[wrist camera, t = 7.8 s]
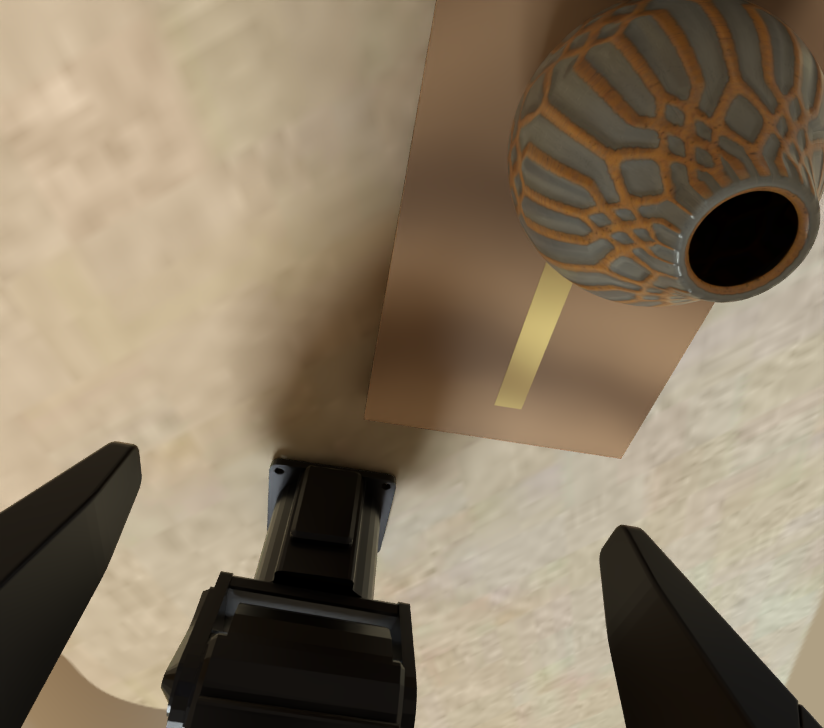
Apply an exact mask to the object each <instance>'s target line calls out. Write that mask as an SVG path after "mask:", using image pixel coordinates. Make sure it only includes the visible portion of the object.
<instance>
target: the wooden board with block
mask: <svg viewBox="0 0 824 728" xmlns="http://www.w3.org/2000/svg"><path fill="white" fill-rule="evenodd" d="M622 1H624V0H436V5H435V11H434V17H433V22H432V28H431V34H430V40H429V45H428V51H427V57H426V63H425V68H424V74H423V80H422V85H421V91H420V97H419V103H418V108H417V114H416V120H415V126H414V131H413V137H412V143H411V148H410V154H409V160H408V166H407V171H406V177H405V183H404V189H403V194H402V200H401V206H400V211H399V217H398V223H397V229H396V234H395V240H394V246H393V252H392V257H391V263H390V269H389V274H388V280H387V286H386V292H385V297H384V303H383V309H382V315H381V320H380V326H379V332H378V337H377V343H376V349H375V355H374V360H373V366H372V372H371V378H370V383H369V389H368V395H367V401H366V408H365V415H364V420H371V421H377V422H384V423H390V424H397V425H404V426H410V427H417V428H423V429H430V430H436V431H443V432H449V433H456V434H462V435H469V436H475V437H482V438H488V439H495V440H502V441H508V442H515V443H521V444H528V445H534V446H541V447H547V448H554V449H560V450H567V451H573V452H580V453H587V454H593V455H600V456H606V457H613V458H619V459H621V458H622V456H623V455H624V453H625V451H626V450H627V448H628V446H629V445H630V443H631V441H632V440H633V438H634V436H635V435H636V433H637V431H638V430H639V428H640V426H641V425H642V423H643V421H644V420H645V418H646V416H647V415H648V413H649V411H650V410H651V408H652V406H653V405H654V403H655V401H656V400H657V398H658V396H659V395H660V393H661V391H662V390H663V388H664V386H665V385H666V383H667V381H668V380H669V378H670V376H671V375H672V373H673V371H674V370H675V368H676V366H677V365H678V363H679V361H680V360H681V358H682V356H683V355H684V353H685V351H686V350H687V348H688V346H689V345H690V343H691V341H692V340H693V338H694V336H695V334H696V333H697V331H698V329H699V328H700V326H701V324H702V323H703V321H704V319H705V318H706V316H707V314H708V313H709V311H710V309H711V308H712V306H713V304H714V303H715V302H709V301H704V300H700V301H696V302H691V303H687V304H681V305H674V306H663V307H645V306H633V305H627V304H622V303H618V302H614V301H610V300H607V299H604V298H601V297H599V296H596V295H594V294H592V293H590V292H588V291H585V290H584V289H582V288H580V287H578V286H576V285H575V284H573V283H572V282H570V281H569V280H567V279H566V278H564V277H563V276H562V275H561V274H559V273H558V272H557V271H556V270H555V269H553V268H552V267H551V266H550V265H549V264H548V263H547V262H546V261H545V260H544V259H543V258H542V256H541V255H540V254H539V253H538V252H537V250H536V249H535V248H534V246H533V245H532V244H531V242H530V241H529V239H528V237H527V236H526V234H525V232H524V230H523V228H522V225H521V223H520V221H519V219H518V216H517V214H516V211H515V208H514V204H513V200H512V196H511V192H510V186H509V178H508V162H507V156H508V143H509V136H510V131H511V127H512V123H513V119H514V116H515V113H516V110H517V107H518V105H519V102H520V100H521V98H522V95H523V93H524V91H525V89H526V87H527V86H528V84H529V82H530V80H531V78H532V77H533V75H534V74H535V72H536V70H537V69H538V68H539V66H540V65H541V63H542V62H543V61H544V60H545V58H546V57H547V56H548V55H549V53H550V52H551V51H552V50H553V49H554V48H555V47H556V46H557V45H558V44H559V43H560V42H561V41H562V40H563V39H564V38H565V37H566V36H567V35H568V34H569V33H571V32H572V31H573V30H574V29H576V28H577V27H578V26H579V25H581V24H582V23H583V22H585V21H586V20H588V19H589V18H591V17H592V16H594V15H596V14H597V13H599V12H601V11H602V10H604V9H606V8H608V7H610V6H612V5H615V4H617V3H620V2H622ZM748 1H750V2H752V3H754V4H756V5H758V6H760V7H762V8H764V9H765V10H767V11H769V12H770V13H772V14H773V15H775V16H776V17H778V18H779V19H780V20H781V21H783V22H784V23H785V24H786V25H787V26H788V27H790V28H791V29H792V30H793V31H794V32H795V33H796V34H797V36H798V37H799V38H800V39H801V40H802V41H803V42H804V44H805V45H806V46H807V48H808V49H809V50H810V52H811V53H812V55H813V56H814V58H815V59H816V61H817V63H818V64H819V66H820V68H821V70H822V72H823V75H824V0H748Z"/></svg>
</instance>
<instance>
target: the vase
mask: <svg viewBox="0 0 824 728" xmlns="http://www.w3.org/2000/svg"><path fill="white" fill-rule="evenodd" d="M507 162H508V178H509V186H510V192H511V196H512V200H513V204H514V208H515V211H516V214H517V216H518V219H519V221H520V223H521V225H522V228H523V230H524V232H525V234H526V236H527V237H528V239H529V241H530V242H531V244H532V245H533V246H534V248H535V249H536V250H537V252H538V253H539V254H540V255H541V256H542V258H543V259H544V260H545V261H546V262H547V263H548V264H549V265H550V266H551V267H552V268H553V269H555V270H556V271H557V272H558V273H559V274H561V275H562V276H563V277H564V278H566V279H567V280H569V281H570V282H572V283H573V284H575V285H576V286H578V287H580V288H582V289H584V290H585V291H588V292H590V293H592V294H594V295H596V296H599V297H601V298H604V299H607V300H610V301H614V302H618V303H622V304H627V305H633V306H645V307H663V306H674V305H681V304H687V303H691V302H696V301H700V300H704V301H709V302H734V301H739V300H744V299H747V298H750V297H753V296H756V295H759V294H761V293H763V292H765V291H767V290H769V289H771V288H772V287H774V286H776V285H777V284H779V283H780V282H781V281H783V280H784V279H785V278H787V277H788V276H789V275H790V274H791V273H792V272H793V271H794V270H795V269H796V268H797V267H798V266H799V265H800V264H801V263H802V261H803V260H804V259H805V257H806V256H807V254H808V253H809V251H810V250H811V248H812V246H813V244H814V242H815V239H816V237H817V234H818V230H819V225H820V207H819V201H820V199H821V196H822V194H823V191H824V75H823V72H822V70H821V68H820V66H819V64H818V63H817V61H816V59H815V58H814V56H813V55H812V53H811V52H810V50H809V49H808V48H807V46H806V45H805V44H804V42H803V41H802V40H801V39H800V38H799V37H798V36H797V34H796V33H795V32H794V31H793V30H792V29H791V28H790V27H788V26H787V25H786V24H785V23H784V22H783V21H781V20H780V19H779V18H778V17H776V16H775V15H773V14H772V13H770V12H769V11H767V10H765V9H764V8H762V7H760V6H758V5H756V4H754V3H752V2H750V1H748V0H624V1H622V2H620V3H617V4H615V5H612V6H610V7H608V8H606V9H604V10H602V11H601V12H599V13H597V14H596V15H594V16H592V17H591V18H589V19H588V20H586V21H585V22H583V23H582V24H581V25H579V26H578V27H577V28H576V29H574V30H573V31H572V32H571V33H569V34H568V35H567V36H566V37H565V38H564V39H563V40H562V41H561V42H560V43H559V44H558V45H557V46H556V47H555V48H554V49H553V50H552V51H551V52H550V53H549V55H548V56H547V57H546V58H545V60H544V61H543V62H542V63H541V65H540V66H539V68H538V69H537V70H536V72H535V74H534V75H533V77H532V78H531V80H530V82H529V84H528V86H527V87H526V89H525V91H524V93H523V95H522V98H521V100H520V102H519V105H518V107H517V110H516V113H515V116H514V119H513V123H512V127H511V131H510V136H509V143H508V156H507Z"/></svg>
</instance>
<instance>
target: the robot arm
mask: <svg viewBox="0 0 824 728" xmlns="http://www.w3.org/2000/svg"><path fill="white" fill-rule="evenodd" d="M280 468H282V469H280ZM141 479H142V474H141V464H140V455H139V449H138V447H137V446H136V445H134V444H130V443H123V442H117V441H114V442H111V443H108V444H107V445H105V446H104V447H102V448H100V449H99V450H97V451H96V452H94V453H93V454H91V455H90V456H88V457H86V458H85V459H83V460H82V461H80V462H79V463H77V464H75V465H74V466H72V467H71V468H69V469H68V470H66V471H64V472H63V473H61V474H60V475H58V476H57V477H55V478H54V479H52V480H50V481H49V482H47V483H46V484H44V485H43V486H41V487H39V488H38V489H36V490H35V491H33V492H32V493H30V494H29V495H27V496H25V497H24V498H22V499H21V500H19V501H18V502H16V503H14V504H13V505H11V506H10V507H8V508H7V509H5V510H4V511H2V512H0V728H21V726H22V725H23V723H24V721H25V719H26V717H27V715H28V714H29V712H30V710H31V708H32V706H33V704H34V702H35V701H36V699H37V697H38V695H39V693H40V691H41V689H42V688H43V686H44V684H45V682H46V680H47V679H48V677H49V675H50V673H51V671H52V669H53V667H54V666H55V664H56V662H57V660H58V658H59V656H60V655H61V653H62V651H63V649H64V647H65V645H66V644H67V642H68V640H69V638H70V636H71V634H72V632H73V631H74V629H75V627H76V625H77V623H78V621H79V620H80V618H81V616H82V614H83V612H84V610H85V609H86V607H87V605H88V603H89V601H90V599H91V597H92V596H93V594H94V592H95V590H96V588H97V586H98V585H99V583H100V581H101V579H102V577H103V575H104V573H105V571H106V569H107V567H108V564H109V562H110V560H111V557H112V555H113V553H114V550H115V548H116V545H117V543H118V540H119V538H120V535H121V533H122V530H123V528H124V525H125V523H126V521H127V518H128V516H129V513H130V511H131V508H132V506H133V503H134V501H135V498H136V496H137V493H138V491H139V488H140V485H141ZM385 483H388V484H385ZM395 489H396V479H395V477H394V476H392V475H389V474H383V473H377V472H370V471H363V470H356V469H349V468H342V467H335V466H328V465H321V464H314V463H307V462H300V461H294V460H287V459H275V460H273V461H272V463H271V466H270V469H269V493H268V521H267V535H266V539H265V542H264V546H263V549H262V553H261V556H260V560H259V563H258V567H257V570H256V574H255V577H254V579H251V578H245V577H239V576H233V573H229V572H223V571H221V572H220V575H219V577H218V580H217V582H216V585H215V587H210V589H208V590H205V591H203V593H202V595H201V598H200V601H199V604H198V606H197V609H196V612H195V615H194V617H193V620H192V622H191V625H190V627H189V629H188V631H187V633H186V635H185V637H184V639H183V641H182V642H181V644H180V646H179V648H178V650H177V652H176V653H175V655H174V657H173V659H172V661H171V663H170V664H169V666H168V668H167V670H166V672H165V674H164V677H163V680H162V684H161V689H162V691H163V693H164V695H165V697H166V699H167V701H168V708H167V716H168V721H167V727H166V728H414V723H415V715H416V702H417V682H416V669H415V657H414V646H413V634H412V623H411V612H410V604H408V603H402V602H398V603H397V604H395V603H390V602H384V601H378V600H373V596H374V585H375V574H376V563H377V553H378V552H379V551H380V549H381V545H382V541H383V537H384V533H385V529H386V525H387V521H388V517H389V513H390V509H391V505H392V501H393V497H394V493H395ZM599 561H600V571H601V581H602V591H603V600H604V610H605V620H606V628H607V636H608V642H609V647H610V653H611V657H612V662H613V667H614V672H615V677H616V681H617V686H618V691H619V696H620V700H621V705H622V710H623V715H624V719H625V724H626V728H822V726H821V725H820V724H819V723H818V722H817V721H816V720H815V719H814V718H813V717H812V715H811V714H810V713H809V712H808V711H807V710H806V709H805V708H804V707H803V706H802V705H800V704H798V700H797V699H796V698H795V697H794V696H793V695H792V694H791V693H790V691H789V690H788V689H787V688H786V687H785V686H784V685H783V684H782V683H781V681H780V680H779V679H778V678H777V677H776V676H775V675H774V674H773V673H772V672H771V670H770V669H769V668H768V667H767V666H766V665H765V664H764V663H763V662H762V660H761V659H760V658H759V657H758V656H757V655H756V654H755V653H754V652H753V651H752V649H751V648H750V647H749V646H748V645H747V644H746V643H745V642H744V641H743V640H742V638H741V637H740V636H739V635H738V634H737V633H736V632H735V631H734V630H733V628H732V627H731V626H730V625H729V624H728V623H727V622H726V621H725V620H724V619H723V617H722V616H721V615H720V614H719V613H718V612H717V611H716V610H715V609H714V608H713V606H712V605H711V604H710V603H709V602H708V601H707V600H706V599H705V598H704V596H703V595H702V594H701V593H700V592H699V591H698V590H697V589H696V588H695V587H694V585H693V584H692V583H691V582H690V581H689V580H688V579H687V578H686V577H685V576H684V574H683V573H682V572H681V571H680V570H679V569H678V568H677V567H676V566H675V565H674V563H673V562H672V561H671V560H670V559H669V558H668V557H667V556H666V555H665V553H664V552H663V551H662V550H661V549H660V548H659V547H658V546H657V545H656V544H655V542H654V541H653V540H652V539H651V538H650V537H649V536H648V535H647V534H646V533H645V532H644V531H643V530H642V529H641V528H638V527H634V526H627V525H620V526H618V527H617V528H616V529H615V530H614V532H613V533H612V535H611V536H610V537H609V539H608V540H607V542H606V543H605V545H604V546H603V548H602V550H601V552H600V559H599Z"/></svg>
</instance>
